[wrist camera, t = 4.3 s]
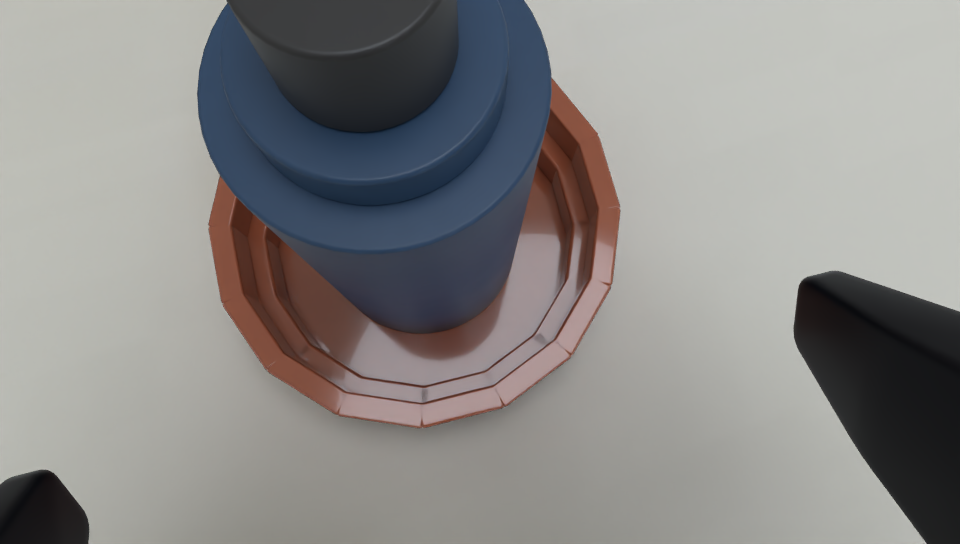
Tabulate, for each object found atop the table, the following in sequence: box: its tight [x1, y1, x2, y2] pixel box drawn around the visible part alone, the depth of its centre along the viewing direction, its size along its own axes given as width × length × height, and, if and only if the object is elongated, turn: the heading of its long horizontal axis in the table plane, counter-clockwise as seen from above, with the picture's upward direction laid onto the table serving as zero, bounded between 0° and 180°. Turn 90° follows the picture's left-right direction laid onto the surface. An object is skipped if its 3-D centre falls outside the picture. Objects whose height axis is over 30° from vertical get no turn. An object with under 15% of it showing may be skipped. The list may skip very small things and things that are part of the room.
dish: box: [209, 78, 620, 428], centre depth 19 cm, size 10×10×3 cm
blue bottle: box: [197, 0, 552, 333], centre depth 14 cm, size 5×5×13 cm
